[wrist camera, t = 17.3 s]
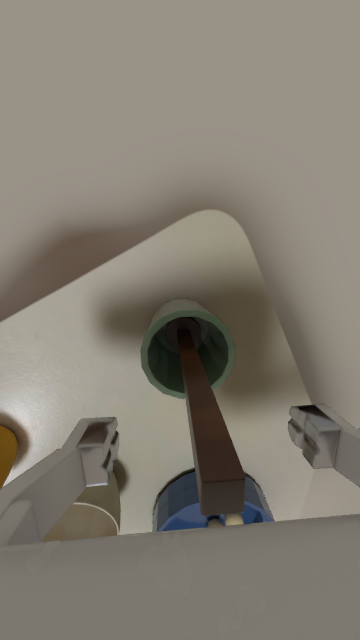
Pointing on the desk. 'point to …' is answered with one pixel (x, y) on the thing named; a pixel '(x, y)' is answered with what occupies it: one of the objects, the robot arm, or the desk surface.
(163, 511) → the bowl
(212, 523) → the dumpling
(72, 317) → the desk surface
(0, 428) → the apple
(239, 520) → the dumpling
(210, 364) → the crock
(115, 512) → the flower pot
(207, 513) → the brown disc-ended rod
